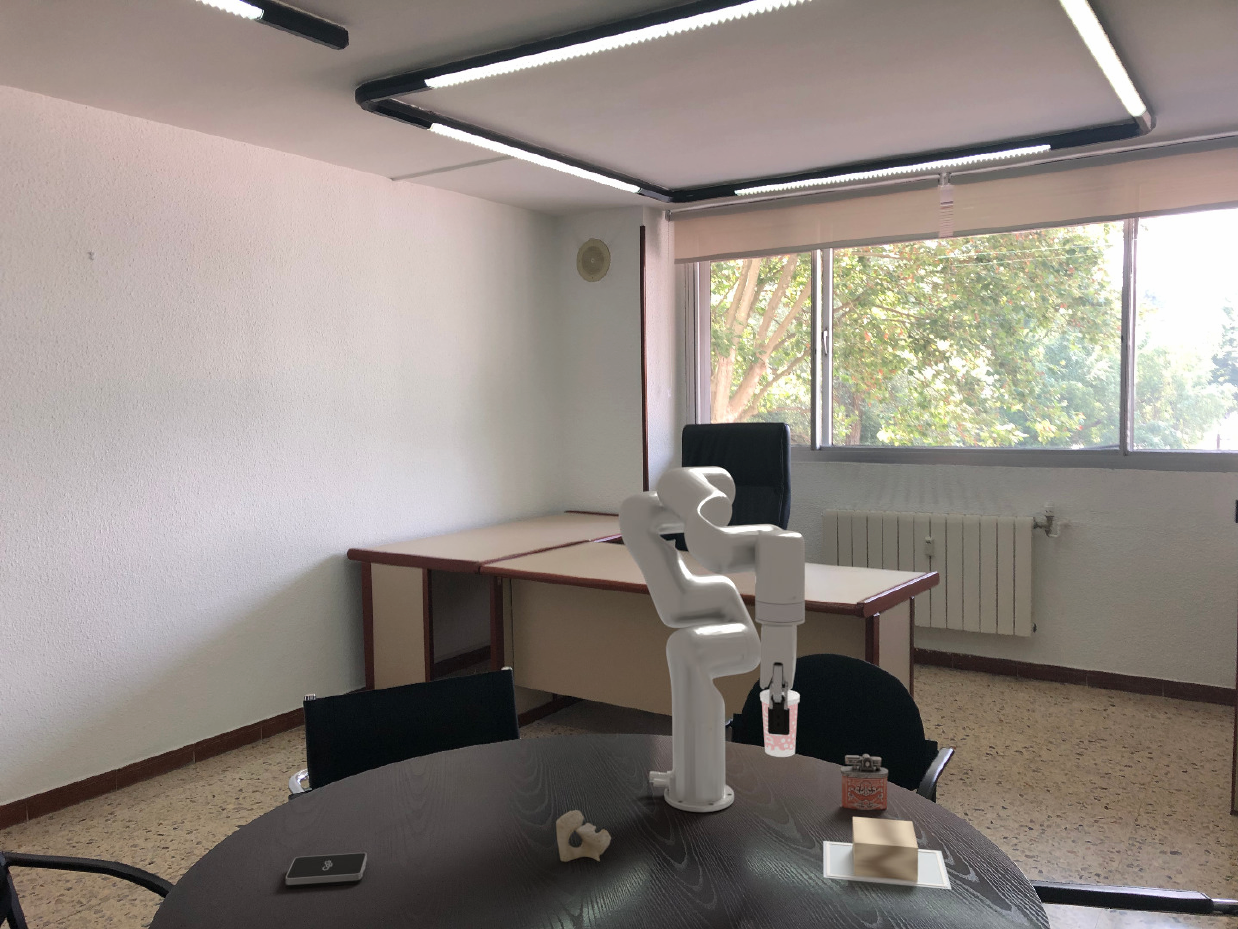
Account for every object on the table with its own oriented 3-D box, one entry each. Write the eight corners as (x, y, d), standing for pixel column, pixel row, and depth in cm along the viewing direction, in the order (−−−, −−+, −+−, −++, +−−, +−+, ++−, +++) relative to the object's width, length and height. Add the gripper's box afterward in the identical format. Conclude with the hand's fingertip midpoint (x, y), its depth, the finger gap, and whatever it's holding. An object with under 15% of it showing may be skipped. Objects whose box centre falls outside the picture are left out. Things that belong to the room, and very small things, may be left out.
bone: (616, 834, 152) (608, 795, 146) (613, 870, 146) (605, 831, 141) (564, 835, 153) (554, 797, 147) (560, 871, 147) (550, 833, 142)
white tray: (823, 884, 138) (823, 876, 138) (823, 847, 149) (823, 840, 149) (951, 896, 134) (951, 888, 134) (941, 857, 146) (941, 850, 146)
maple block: (854, 875, 138) (854, 842, 138) (852, 847, 147) (852, 816, 147) (917, 881, 136) (918, 847, 136) (912, 852, 145) (912, 821, 145)
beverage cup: (752, 748, 146) (752, 660, 145) (785, 742, 148) (785, 655, 147) (773, 761, 140) (773, 669, 139) (807, 755, 143) (807, 665, 142)
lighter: (886, 808, 164) (886, 752, 163) (889, 816, 161) (889, 759, 160) (839, 807, 165) (839, 751, 164) (842, 815, 161) (842, 758, 161)
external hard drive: (360, 887, 139) (360, 874, 139) (284, 892, 138) (283, 879, 138) (367, 865, 146) (367, 852, 146) (294, 869, 145) (294, 857, 145)
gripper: (759, 599, 152) (759, 708, 153) (750, 622, 135) (750, 744, 136) (806, 601, 151) (806, 710, 152) (803, 624, 134) (803, 748, 135)
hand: (779, 725), depth 144 cm, fingers closed on beverage cup, 6 cm apart
